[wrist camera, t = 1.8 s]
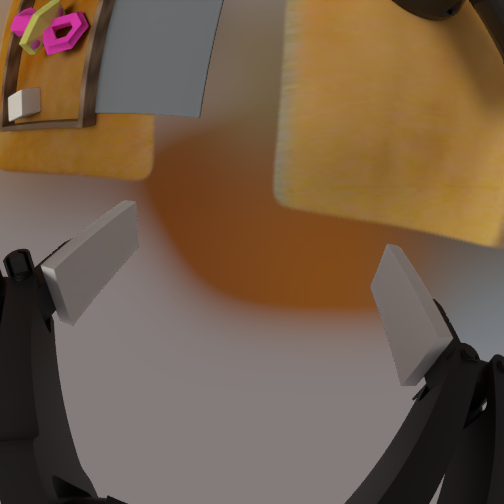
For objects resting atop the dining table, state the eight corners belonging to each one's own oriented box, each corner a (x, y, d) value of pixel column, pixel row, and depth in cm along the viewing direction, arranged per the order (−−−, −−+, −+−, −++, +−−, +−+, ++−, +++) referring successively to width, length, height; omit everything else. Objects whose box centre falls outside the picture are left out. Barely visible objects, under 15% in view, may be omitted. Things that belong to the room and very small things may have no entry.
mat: (122, -17, 23) (121, -18, 22) (231, -28, 22) (230, -29, 22) (96, 112, 35) (94, 113, 34) (200, 118, 34) (199, 118, 34)
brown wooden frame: (34, -6, 20) (23, -8, 17) (131, -43, 20) (121, -49, 16) (11, 128, 36) (0, 132, 33) (95, 124, 36) (82, 127, 32)
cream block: (25, 94, 32) (8, 97, 28) (40, 87, 32) (21, 89, 28) (26, 117, 35) (8, 121, 30) (40, 111, 34) (22, 115, 30)
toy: (69, 71, 31) (53, 50, 22) (9, 51, 23) (-13, 33, 14) (102, 27, 30) (94, -1, 21) (39, 10, 22) (24, -13, 13)
